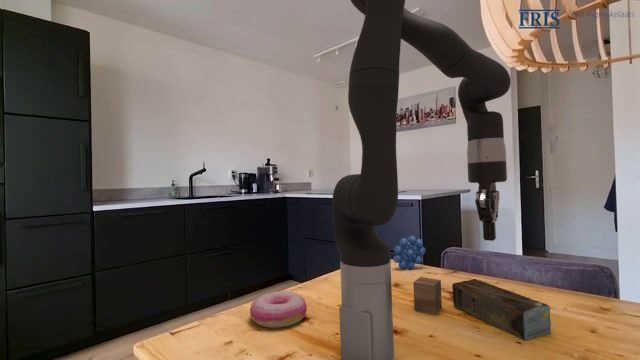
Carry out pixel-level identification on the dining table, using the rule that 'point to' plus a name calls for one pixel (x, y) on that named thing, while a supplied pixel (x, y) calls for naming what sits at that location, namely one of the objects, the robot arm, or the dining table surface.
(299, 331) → the dining table surface
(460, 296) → the beverage carton
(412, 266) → the grapes
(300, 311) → the donut
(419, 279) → the walnut block
